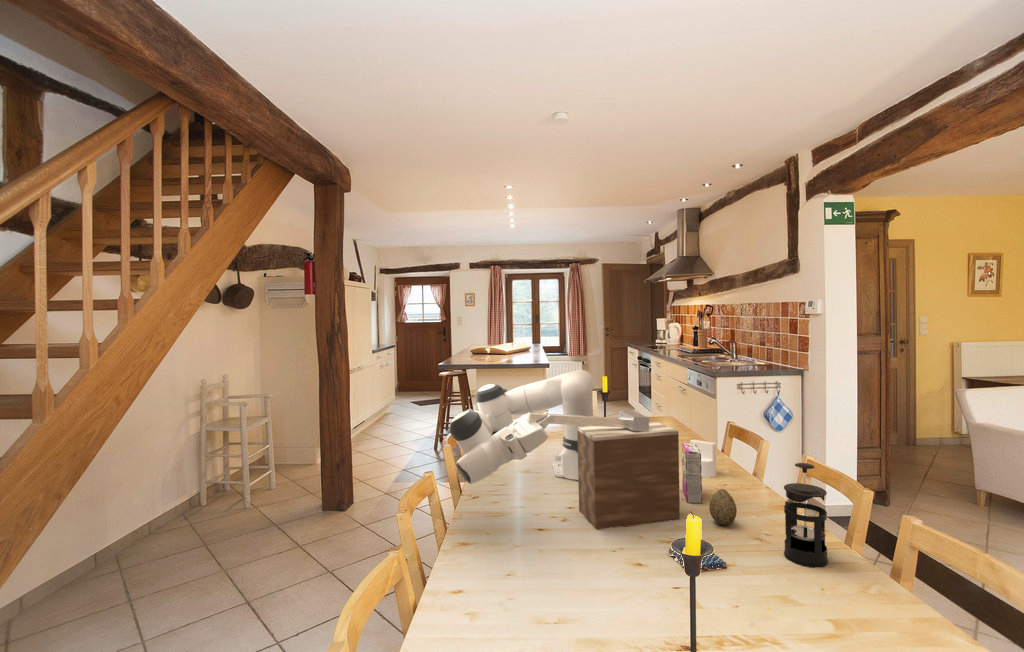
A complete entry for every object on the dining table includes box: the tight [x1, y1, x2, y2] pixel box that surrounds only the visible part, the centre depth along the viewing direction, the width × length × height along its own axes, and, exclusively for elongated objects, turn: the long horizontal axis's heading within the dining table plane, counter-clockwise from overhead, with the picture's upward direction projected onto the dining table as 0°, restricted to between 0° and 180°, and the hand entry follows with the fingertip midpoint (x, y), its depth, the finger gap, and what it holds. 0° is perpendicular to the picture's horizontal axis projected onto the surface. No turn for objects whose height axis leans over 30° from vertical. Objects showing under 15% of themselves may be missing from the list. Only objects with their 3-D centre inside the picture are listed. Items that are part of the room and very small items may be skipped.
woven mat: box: [668, 548, 728, 572], centre depth 123 cm, size 10×11×2 cm
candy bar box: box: [680, 442, 703, 504], centre depth 164 cm, size 11×5×16 cm, turn 168°
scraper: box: [527, 410, 651, 431], centre depth 148 cm, size 10×35×4 cm, turn 102°
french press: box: [783, 462, 829, 569], centre depth 123 cm, size 12×9×23 cm
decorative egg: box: [709, 488, 738, 526], centre depth 143 cm, size 7×7×10 cm
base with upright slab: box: [689, 439, 717, 479], centre depth 187 cm, size 9×9×12 cm
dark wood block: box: [577, 420, 681, 530], centre depth 151 cm, size 14×26×26 cm, turn 102°
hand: (550, 415), depth 145 cm, fingers closed on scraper, 2 cm apart
